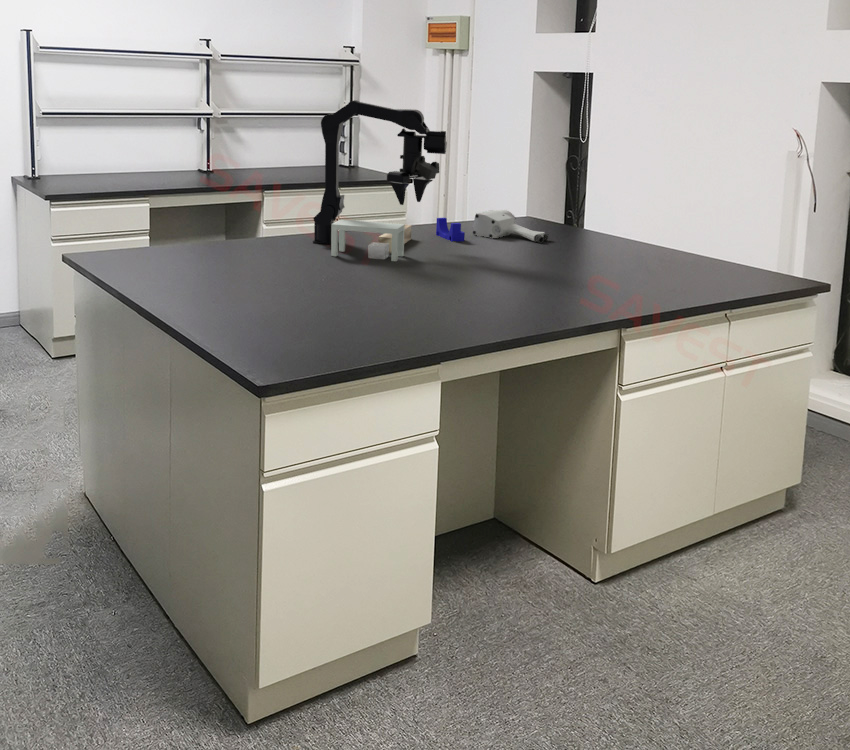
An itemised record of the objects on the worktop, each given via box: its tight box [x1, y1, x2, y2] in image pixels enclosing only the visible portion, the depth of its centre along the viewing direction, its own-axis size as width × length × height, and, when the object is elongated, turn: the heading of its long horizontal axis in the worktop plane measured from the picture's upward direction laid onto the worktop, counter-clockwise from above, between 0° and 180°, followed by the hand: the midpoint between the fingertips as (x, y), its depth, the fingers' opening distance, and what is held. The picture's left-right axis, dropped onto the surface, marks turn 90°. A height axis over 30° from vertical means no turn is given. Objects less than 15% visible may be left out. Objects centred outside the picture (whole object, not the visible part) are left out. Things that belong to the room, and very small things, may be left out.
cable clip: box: [435, 217, 466, 242], centre depth 329 cm, size 12×4×6 cm, turn 26°
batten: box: [378, 224, 412, 254], centre depth 313 cm, size 4×25×5 cm, turn 167°
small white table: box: [330, 219, 406, 262], centre depth 295 cm, size 20×9×10 cm, turn 77°
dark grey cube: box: [367, 241, 390, 260], centre depth 295 cm, size 5×5×4 cm
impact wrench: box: [472, 209, 550, 244], centre depth 338 cm, size 8×23×25 cm
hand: (410, 203), depth 308 cm, fingers open, 9 cm apart
